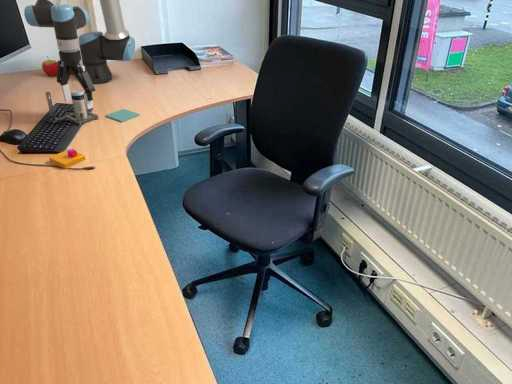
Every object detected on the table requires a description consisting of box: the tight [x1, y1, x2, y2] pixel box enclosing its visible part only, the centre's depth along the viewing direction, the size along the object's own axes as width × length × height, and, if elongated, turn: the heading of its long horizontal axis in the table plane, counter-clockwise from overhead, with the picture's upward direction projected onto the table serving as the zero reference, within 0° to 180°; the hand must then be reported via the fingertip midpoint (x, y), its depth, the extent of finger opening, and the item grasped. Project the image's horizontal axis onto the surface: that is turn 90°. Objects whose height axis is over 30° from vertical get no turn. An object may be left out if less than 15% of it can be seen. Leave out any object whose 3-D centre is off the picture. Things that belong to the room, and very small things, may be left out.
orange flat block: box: [48, 148, 86, 170], centre depth 140 cm, size 8×8×4 cm
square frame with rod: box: [45, 91, 99, 126], centre depth 168 cm, size 14×14×12 cm
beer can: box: [70, 89, 89, 120], centre depth 169 cm, size 5×5×12 cm
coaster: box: [104, 108, 141, 123], centre depth 177 cm, size 10×10×1 cm
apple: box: [41, 55, 58, 77], centre depth 218 cm, size 8×8×10 cm
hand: (79, 104), depth 168 cm, fingers open, 13 cm apart
